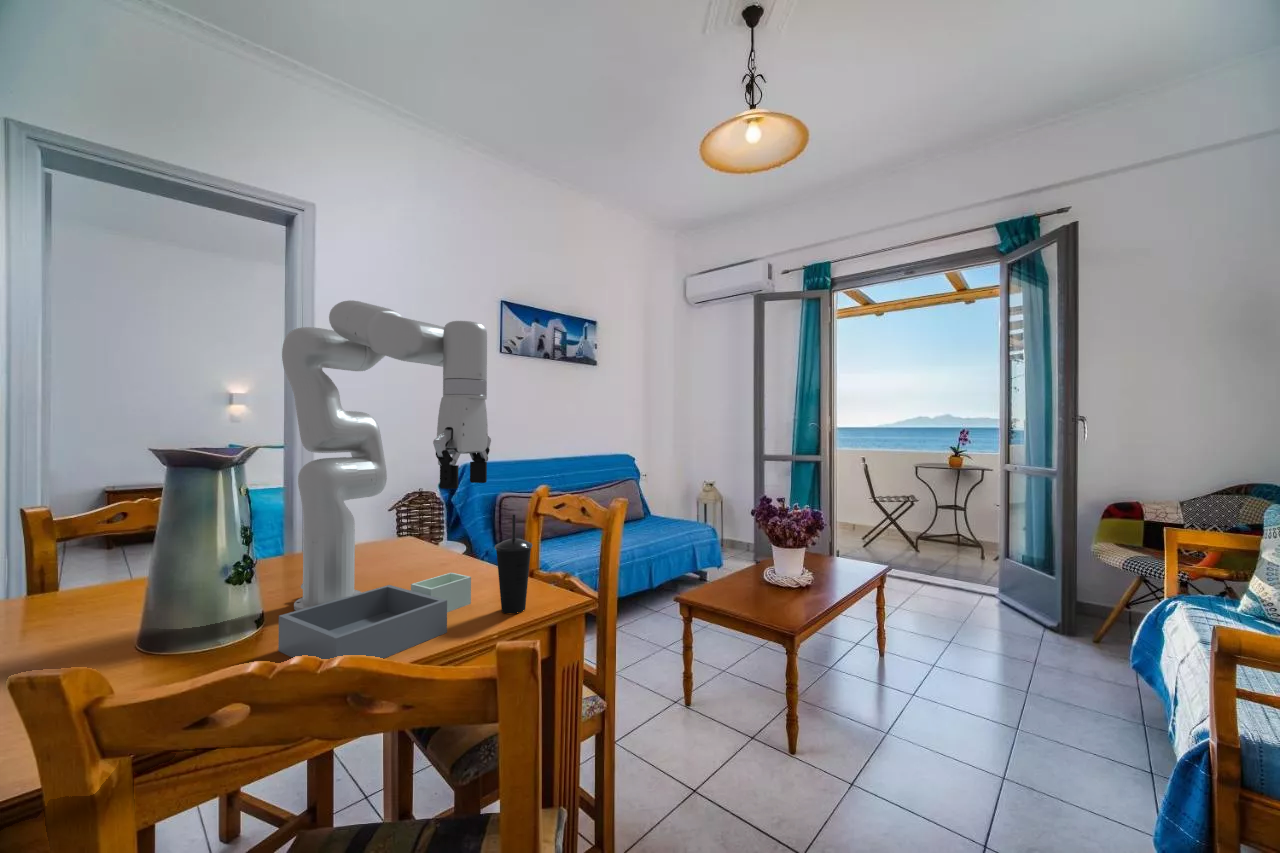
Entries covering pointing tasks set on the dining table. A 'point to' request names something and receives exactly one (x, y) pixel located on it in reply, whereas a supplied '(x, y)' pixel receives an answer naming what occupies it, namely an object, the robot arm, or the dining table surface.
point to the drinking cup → (513, 571)
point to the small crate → (447, 589)
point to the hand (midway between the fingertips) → (464, 485)
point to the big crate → (363, 624)
